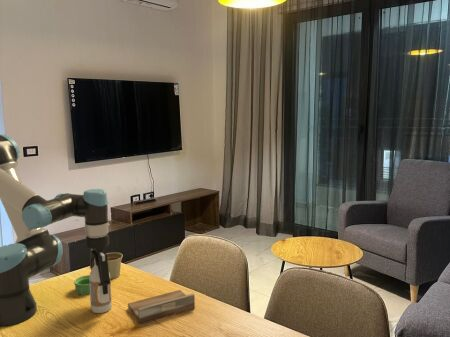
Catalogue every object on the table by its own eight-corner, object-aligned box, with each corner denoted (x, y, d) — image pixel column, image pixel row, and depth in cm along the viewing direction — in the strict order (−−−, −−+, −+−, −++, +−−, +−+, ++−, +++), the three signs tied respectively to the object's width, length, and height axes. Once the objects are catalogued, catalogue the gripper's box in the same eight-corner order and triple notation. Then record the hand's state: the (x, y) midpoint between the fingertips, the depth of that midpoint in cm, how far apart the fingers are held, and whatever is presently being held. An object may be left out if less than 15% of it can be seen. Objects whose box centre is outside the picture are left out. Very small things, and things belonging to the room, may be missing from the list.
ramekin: (70, 290, 153) (69, 280, 153) (91, 283, 160) (91, 273, 159) (81, 298, 147) (81, 287, 147) (103, 290, 154) (103, 279, 153)
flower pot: (111, 282, 160) (110, 262, 159) (95, 277, 165) (94, 258, 164) (128, 274, 168) (127, 255, 167) (112, 270, 173) (111, 251, 172)
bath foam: (94, 315, 134) (90, 259, 131) (88, 307, 140) (85, 253, 137) (114, 310, 138) (111, 255, 135) (108, 302, 144) (105, 249, 141)
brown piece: (128, 308, 139) (127, 295, 138) (180, 294, 149) (179, 282, 148) (140, 324, 128) (139, 310, 128) (195, 308, 139) (194, 295, 138)
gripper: (118, 242, 127) (121, 306, 130) (100, 224, 147) (103, 281, 150) (94, 246, 123) (98, 312, 126) (78, 228, 143) (82, 285, 146)
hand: (100, 295), depth 138 cm, fingers open, 11 cm apart
